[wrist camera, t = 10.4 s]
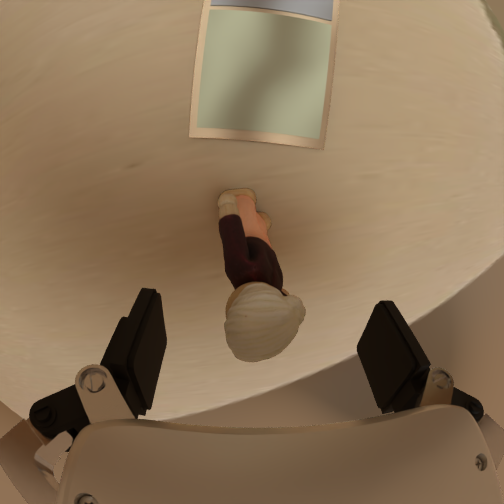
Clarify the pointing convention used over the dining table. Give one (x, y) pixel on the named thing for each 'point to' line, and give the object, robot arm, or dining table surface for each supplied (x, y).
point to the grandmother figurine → (254, 282)
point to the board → (265, 71)
